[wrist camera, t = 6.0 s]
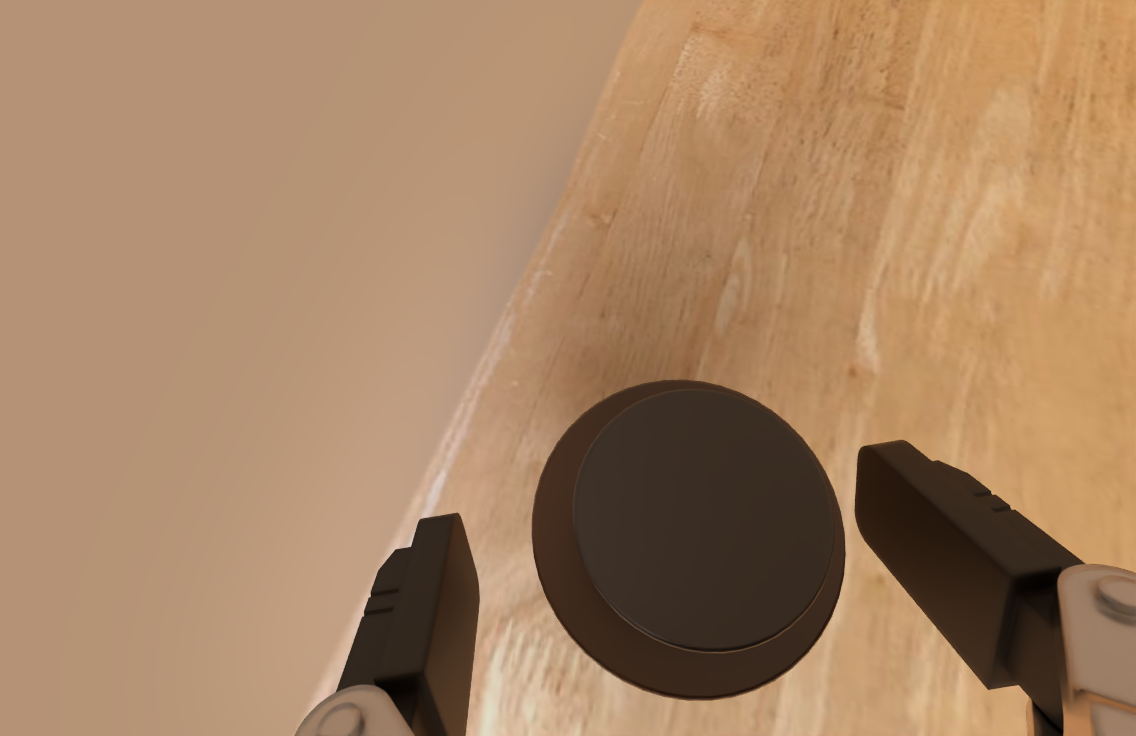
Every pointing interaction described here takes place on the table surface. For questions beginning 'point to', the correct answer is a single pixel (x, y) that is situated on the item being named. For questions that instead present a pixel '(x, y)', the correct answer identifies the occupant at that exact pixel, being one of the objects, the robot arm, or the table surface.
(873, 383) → the table surface
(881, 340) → the table surface
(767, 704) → the table surface
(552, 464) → the pepper mill
